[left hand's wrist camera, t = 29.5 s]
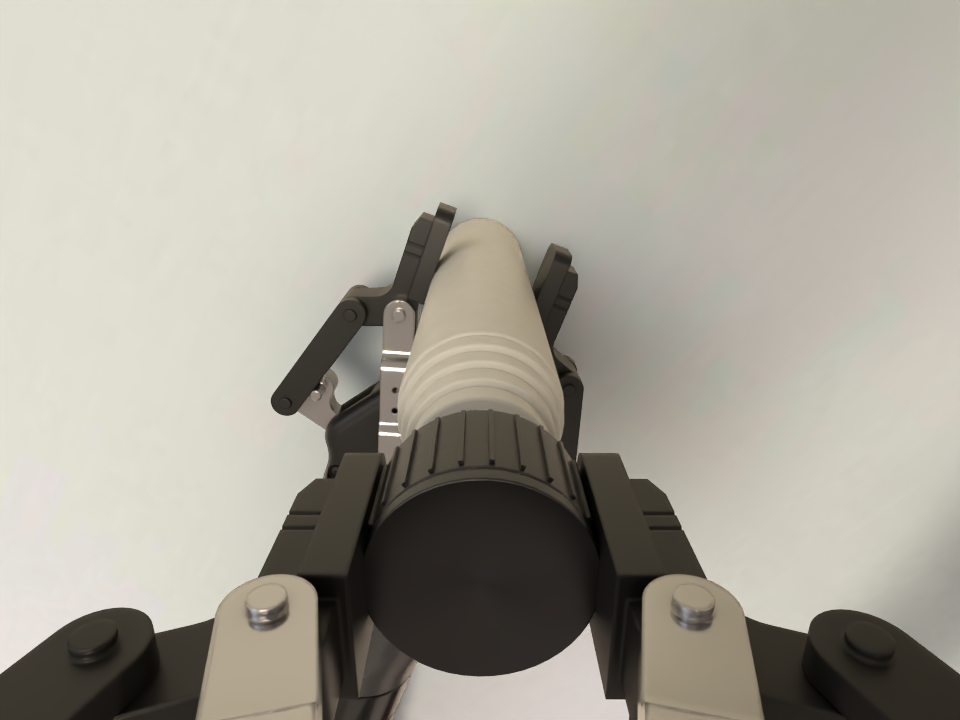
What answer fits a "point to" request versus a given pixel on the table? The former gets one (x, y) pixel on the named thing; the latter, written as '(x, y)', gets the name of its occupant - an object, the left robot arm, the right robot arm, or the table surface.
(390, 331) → the right robot arm
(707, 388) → the table surface
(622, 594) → the left robot arm
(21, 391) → the table surface
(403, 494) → the cap
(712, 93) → the table surface
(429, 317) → the bottle
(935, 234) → the table surface
